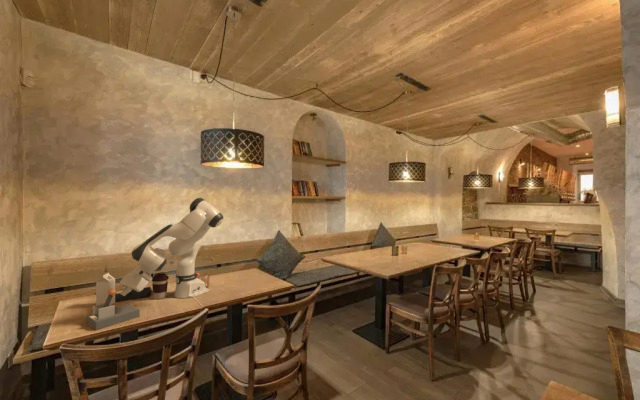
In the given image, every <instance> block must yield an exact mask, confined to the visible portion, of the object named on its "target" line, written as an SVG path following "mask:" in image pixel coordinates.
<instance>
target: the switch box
mask: <svg viewBox="0 0 640 400" xmlns="http://www.w3.org/2000/svg"><path fill="white" fill-rule="evenodd" d="M104 304H105V303H103V304H99V305H92V313H89V314H86V315H85V319H86V320H85V322H86V324H87V325H89V326H90V327H91V328H92V329H94V330H96V331H98V330H102V329H105V328H109V327H111V326H114V325H118V324H120V323H124V322H128V321H131V320H134V319H137V318H141V315H140V314H141V313H140V309H139V308H137V307H135V306H133V305H131V304H129V303H127V304H124V305H120V306H115V304H112V305H111V306H108V307H104V308H103V306H104Z"/></svg>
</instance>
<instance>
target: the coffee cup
mask: <svg viewBox="0 0 640 400" xmlns="http://www.w3.org/2000/svg"><path fill="white" fill-rule="evenodd" d="M151 277H152V280H151V282H152V294H153V299H154V300H161V299H164V298H166V297H167V291H168V283H169V282H168V281H169V278H170V277H169V275H167V274H166V273H157V274H154V275H153V276H151Z"/></svg>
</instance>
